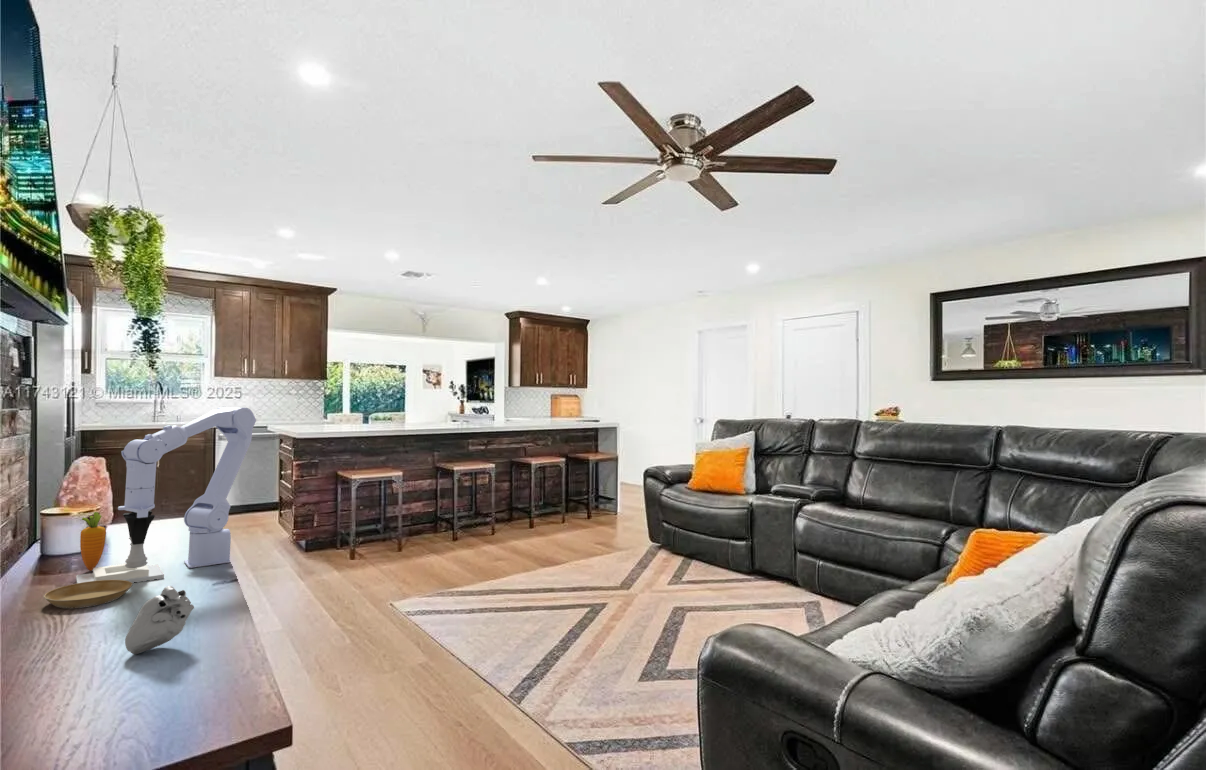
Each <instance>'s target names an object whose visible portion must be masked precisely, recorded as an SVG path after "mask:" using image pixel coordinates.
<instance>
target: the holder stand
mask: <svg viewBox="0 0 1206 770" xmlns="http://www.w3.org/2000/svg"><path fill="white" fill-rule="evenodd" d="M126 564H127V563H121V564H120V563H119V564H114V565H113V564H112V565H105V566H96V567H95V568H93V570H92V572H91V573H81V574H76V578H75V579H76V580H75V581H76V584H77V583H82V582H89V581H98V580H125V581H129V582H131V583H132V584H135V583H134V582H137V583H141V582H140V581H143V582H147V581H146V580H150V581H155V580H154V579H157V580H162V578H163V579H165V573H164V572H163V570H162V569H161V567H160V566H159V564H150V565H147V564H146V565H145V566H143V567H138V568H126V567H125V565H126Z"/></svg>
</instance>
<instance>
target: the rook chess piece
mask: <svg viewBox="0 0 1206 770" xmlns="http://www.w3.org/2000/svg"><path fill="white" fill-rule="evenodd" d="M128 539H129V540H130V543H129V546H130V550H129V555H128V556H127V558H126V559H125V564H126V565H125V567H126V568H138V567H143V566H145V565H147V564H148V562H147V560H148V557H147V556H146V554H145V551H144V544H145V542H144V543H143V544H136V545H133V544H132V540H131V537H130V536H129V538H128Z"/></svg>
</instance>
